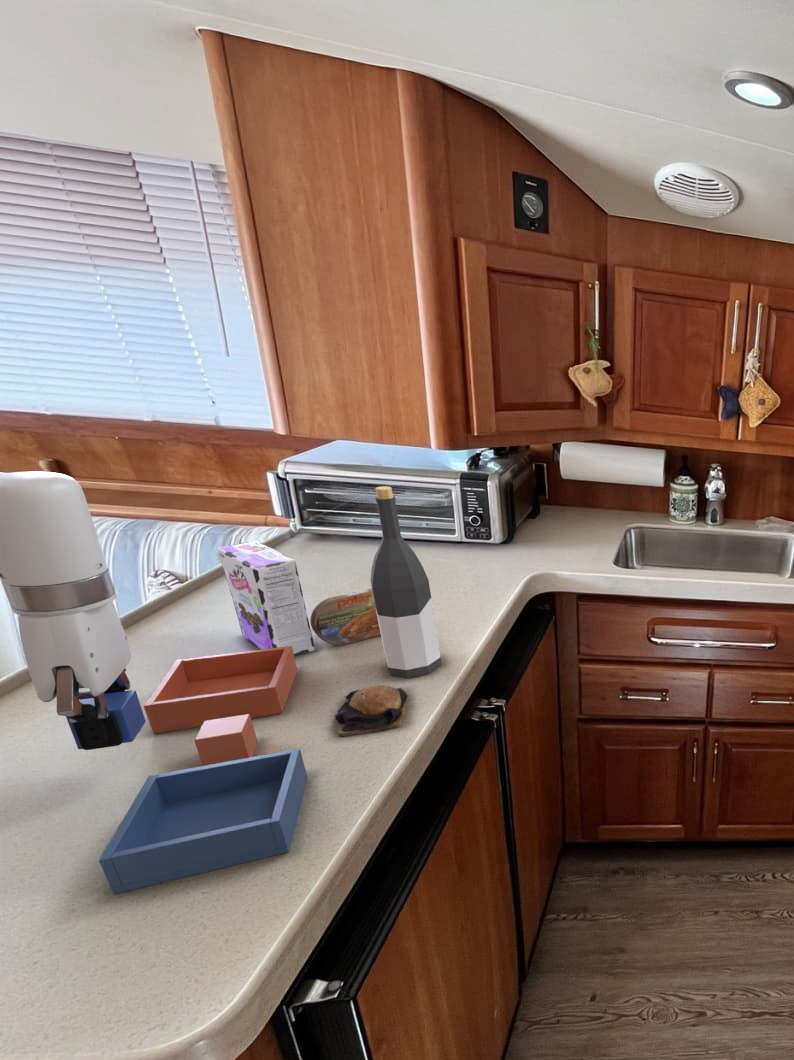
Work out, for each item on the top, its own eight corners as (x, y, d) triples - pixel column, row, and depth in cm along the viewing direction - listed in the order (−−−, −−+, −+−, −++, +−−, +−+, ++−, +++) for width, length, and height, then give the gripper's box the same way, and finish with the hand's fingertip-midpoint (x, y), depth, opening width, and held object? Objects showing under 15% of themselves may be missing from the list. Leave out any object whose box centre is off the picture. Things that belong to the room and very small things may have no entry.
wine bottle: (395, 656, 107) (362, 481, 96) (447, 654, 109) (421, 482, 98) (378, 679, 100) (341, 493, 89) (435, 677, 102) (405, 494, 91)
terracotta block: (204, 770, 78) (193, 740, 76) (213, 750, 82) (204, 720, 80) (250, 761, 80) (241, 732, 79) (258, 742, 84) (249, 713, 82)
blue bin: (113, 894, 61) (98, 860, 60) (160, 806, 72) (148, 775, 71) (288, 852, 68) (279, 820, 66) (307, 776, 79) (300, 748, 77)
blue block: (78, 750, 72) (65, 716, 70) (94, 728, 75) (82, 695, 74) (132, 742, 74) (121, 709, 72) (146, 721, 77) (135, 689, 76)
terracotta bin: (153, 733, 84) (143, 706, 82) (184, 685, 95) (176, 659, 93) (282, 713, 90) (275, 687, 88) (297, 669, 101) (291, 645, 99)
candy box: (241, 637, 109) (215, 546, 103) (281, 626, 114) (259, 539, 107) (276, 662, 103) (250, 567, 96) (317, 649, 107) (296, 558, 101)
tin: (320, 651, 107) (309, 605, 104) (313, 645, 108) (302, 600, 105) (415, 626, 118) (408, 584, 115) (408, 621, 120) (401, 579, 116)
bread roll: (345, 700, 95) (340, 678, 93) (410, 690, 98) (406, 669, 97) (332, 739, 86) (326, 715, 84) (404, 727, 89) (400, 704, 88)
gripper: (49, 566, 73) (97, 703, 79) (-37, 626, 59) (30, 784, 66) (138, 562, 76) (178, 693, 83) (77, 617, 63) (130, 769, 69)
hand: (112, 732), depth 74 cm, fingers closed on blue block, 4 cm apart
